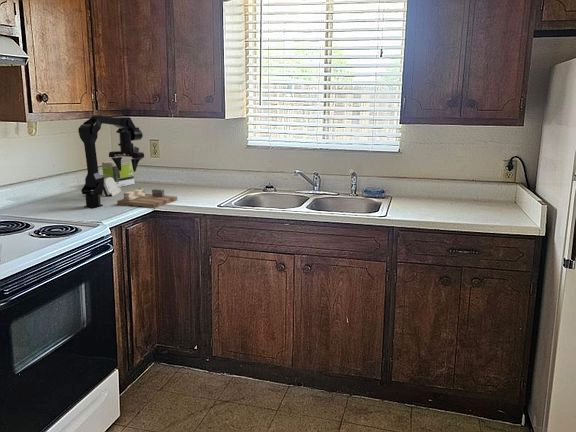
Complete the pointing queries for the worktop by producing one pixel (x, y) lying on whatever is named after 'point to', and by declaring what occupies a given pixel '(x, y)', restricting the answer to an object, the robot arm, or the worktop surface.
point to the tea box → (119, 172)
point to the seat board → (150, 199)
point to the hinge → (110, 187)
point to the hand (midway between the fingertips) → (127, 171)
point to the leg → (134, 194)
